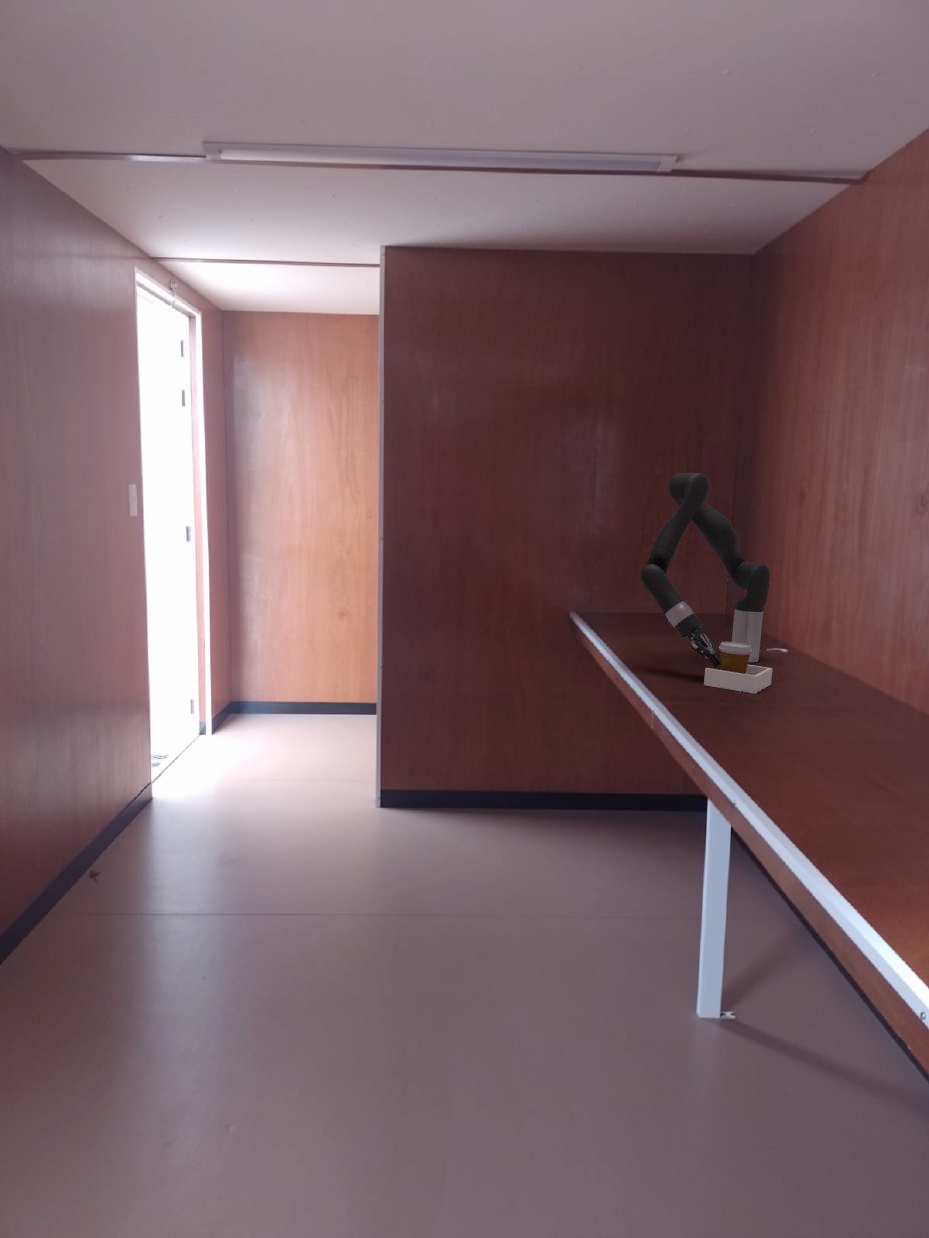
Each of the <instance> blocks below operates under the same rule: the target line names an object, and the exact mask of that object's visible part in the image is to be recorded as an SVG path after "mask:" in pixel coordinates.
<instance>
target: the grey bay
mask: <svg viewBox="0 0 929 1238" xmlns="http://www.w3.org/2000/svg"><path fill="white" fill-rule="evenodd" d="M772 676H773V668H772V667H765V666H760V665H752V664H748V665H747V669H746V673H745V674H742V673H735V672H729V671H723V670H720V669H716V668H709V667H706V668H705V669H704V681H703V686H708V687H713V688H720V689H726V690H731V691H735V692H736V691H737V692H742V691H743V692H742V693H747V692H748V693H749V694H755V695H756V694H757V693H759V692H760V691H762V689H763V690H764V689H766V688H767V687H769V686H772ZM758 691H759V692H758ZM748 693H747V694H748Z"/></svg>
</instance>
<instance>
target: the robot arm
mask: <svg viewBox="0 0 929 1238" xmlns="http://www.w3.org/2000/svg"><path fill="white" fill-rule="evenodd" d="M709 487H710V486H709V481H708V478H707V477H706V475H705V474H703V473H700V472H681V473H677V474H674V475H673V476H672V477H671V478H670V479H669V483H668V490H669V493H670V497H671V498H672V500H673V501H674V502H675V504H677V505H678V506H679V507H678V509H677V510H676V512H675V513H674V514H673V515H672V516H671V517H670V518H669V520H667V522H666V523H665V524H664V525H663V526H662V527H661V528H660V530H659V532H658V533H657V535H656V537H655V540H654V542H653V544H652V547H651V549H650V553H649V557H648V560H647V563H646V564H645V565H644V566H643V567H642V569H641V570H640V574H639V582H640V585H641V588H643V589H644V590H646V591H648V592H650V594H652V596H653V597H654V599H655V602H656V604H657V606H658V607H659V608H660V610H661V611H662V613H664V615H665V616H666V618H667V620H668V622H669V623H670V624H671V626H672V627H673V629H674V630H675V631H676V632H677V634H678V636H680V638H681V639H683V640H685V639H687V638H688V640H689V641H690V645H689V647H690V648H691V649H692V650H693V651H694V652H696V653H697V654H699V656H701V658H706V659H707V660H708V661H709V662H710V664H711V665H712V666H713V668H714V669H716V668H718V667H720V657H718V656H717V655H716V647H715V644H714V641H713V640H712V637H711V636H707V635H706V633H704V632H703V631H702V630H701V628H702V627H703V626H704V624H703V622H702V621H701V620H700V619H699V616H698V615H697V614H696V613H695V612H694V611H693V609H692V608H691V607H690V606H689V605H688V604H687V602H686V601H685V600H684V599H683V598H682V596H681V595H680V594H679V592H677V590H676V589H675V588H674V586H673V584H672V583H671V581H670V580H669V578H668V576H667V571H668V569H669V567H670V563H671V561H672V559H673V558H674V556H675V552H676V550H677V549H678V546H679V544H680V541H681V539H682V537H683V535H684V533H685V531H686V530H687V528H688V526H689V525H690V523H691V522H693V524H694V525H695V527H696V528H697V529H698V531H699V532H700V533H701V535H702V536H703V537H704V540H706V542H707V543H708V545H709V546H710V547H711V549H712V550H713V551H714V553H715V554H716V555H717V557H718V558H719V560H720V561H721V562H722V563H723V565H724V567H725V569H726V571H727V572H728V575H729V576H730V579H731V580H732V582H733V583H734V585H735V586H736V587H738V588H740V589H742V590H746V594H745V596H744V597H743V598H741V599H738V600H736V601H735V603H734V614H733V626H732V633H731V634H732V635H731V642H738V643H744V644H748V645H750V646H751V650H752V652H751V654H750V656H749V661H748V663H758V662H759V656H760V648H761V647H760V646H761V636H762V626H763V617H764V607H765V605H766V603H767V600H768V592H769V587H770V580H771V573H770V570H769V568H768V566H767V565H766V564H763V563H759V562H757V563H756V562H751V561H748V560H746V558H744V556H743V555H742V553H741V552H740V550H739V548H738V545H739V537H738V534H737V531H736V530H735V528H734V527H733V525H732V524H731V522H730V520H728V518H727V517H726V516H724V514H722V513H721V512H719V511H718V510H717V509H715V508H713V507H712V506H710V505H708V504H707V503H706V502H705V499H706V496H707V495H708V492H709Z"/></svg>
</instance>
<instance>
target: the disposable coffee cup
mask: <svg viewBox="0 0 929 1238" xmlns="http://www.w3.org/2000/svg"><path fill="white" fill-rule="evenodd" d="M719 644H720V645H719V646H718V649H719V660H720V666H719V667H720V669H719V670H723V671H729V672H735V673H742V674H745V673H746V669H747V665H749V662H748V661H749V656H750V654H751V652H752V650H751V646H750V645H748V644H744V643H738V642H732V641H722V642H720V643H719Z"/></svg>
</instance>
